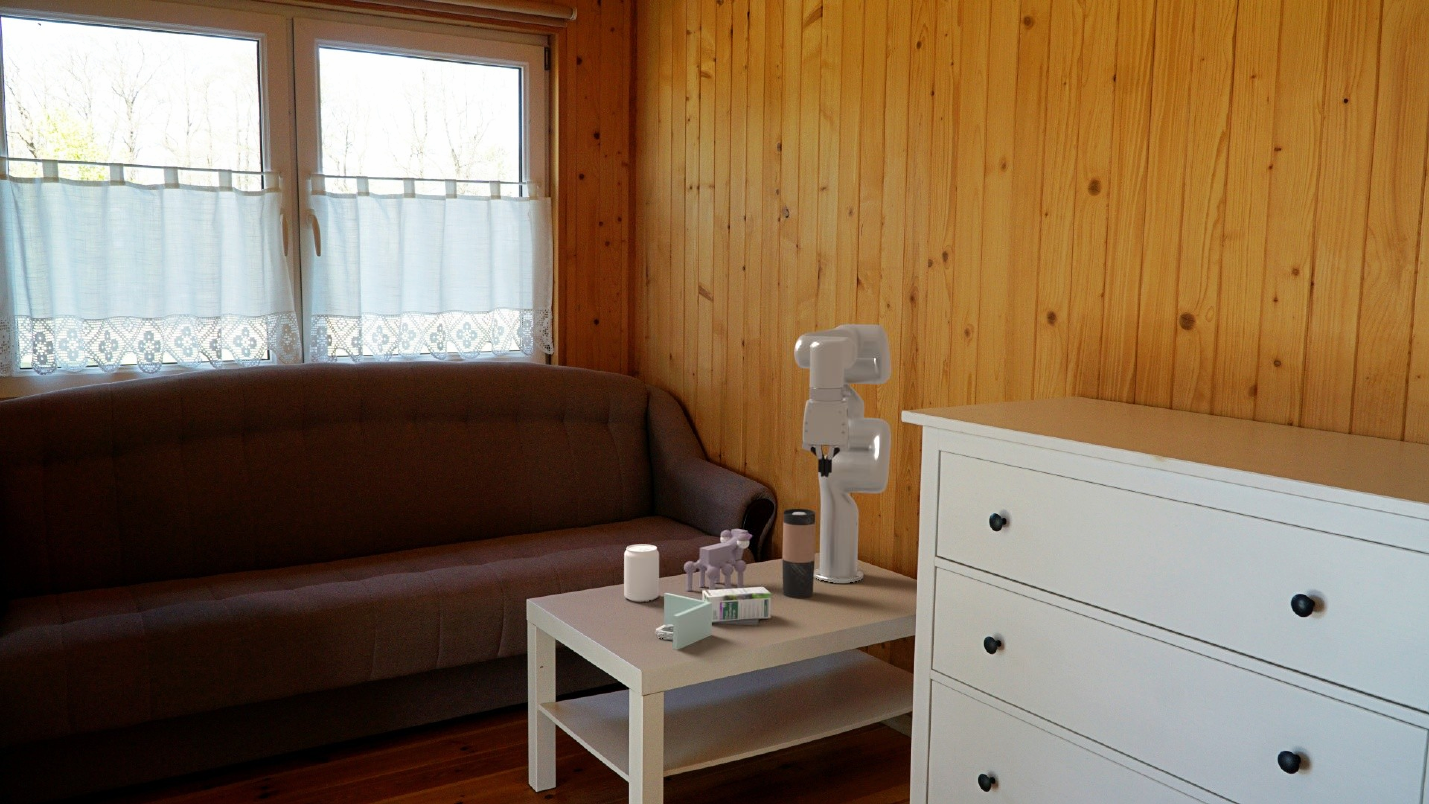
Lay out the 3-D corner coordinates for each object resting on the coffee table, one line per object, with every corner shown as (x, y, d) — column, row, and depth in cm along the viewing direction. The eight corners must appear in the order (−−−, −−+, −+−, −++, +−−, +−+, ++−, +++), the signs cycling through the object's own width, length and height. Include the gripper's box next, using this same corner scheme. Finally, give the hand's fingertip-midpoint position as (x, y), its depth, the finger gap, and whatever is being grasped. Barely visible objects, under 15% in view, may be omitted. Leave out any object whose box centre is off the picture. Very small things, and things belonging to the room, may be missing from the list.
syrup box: (771, 618, 235) (707, 623, 232) (763, 610, 241) (700, 614, 237) (771, 593, 235) (707, 597, 231) (763, 585, 241) (701, 589, 237)
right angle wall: (666, 626, 232) (666, 592, 232) (711, 637, 226) (712, 602, 225) (631, 640, 223) (631, 605, 222) (676, 652, 216) (677, 616, 215)
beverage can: (632, 591, 257) (632, 542, 256) (663, 595, 254) (664, 545, 253) (618, 600, 249) (618, 550, 248) (650, 604, 247) (650, 553, 245)
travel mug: (819, 593, 258) (821, 511, 255) (804, 600, 251) (805, 516, 249) (791, 588, 262) (793, 507, 260) (775, 595, 255) (777, 512, 253)
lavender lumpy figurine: (736, 574, 274) (738, 522, 272) (767, 584, 266) (770, 531, 264) (679, 589, 259) (682, 534, 257) (711, 600, 252) (714, 544, 250)
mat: (679, 599, 251) (679, 597, 250) (764, 604, 248) (764, 602, 248) (666, 620, 235) (666, 618, 235) (756, 625, 232) (756, 623, 232)
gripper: (861, 394, 242) (859, 474, 244) (794, 392, 244) (793, 471, 247) (859, 398, 234) (857, 480, 237) (790, 396, 237) (789, 477, 239)
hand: (824, 475), depth 242 cm, fingers closed
